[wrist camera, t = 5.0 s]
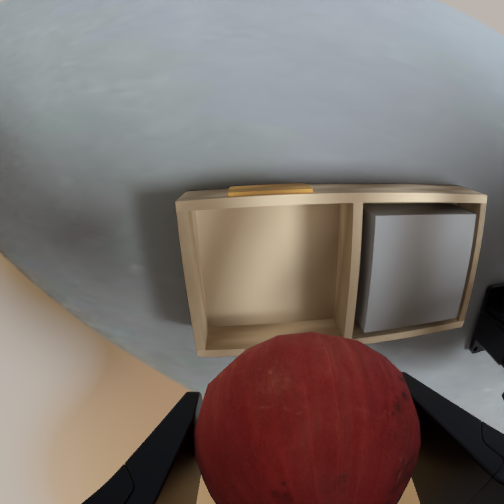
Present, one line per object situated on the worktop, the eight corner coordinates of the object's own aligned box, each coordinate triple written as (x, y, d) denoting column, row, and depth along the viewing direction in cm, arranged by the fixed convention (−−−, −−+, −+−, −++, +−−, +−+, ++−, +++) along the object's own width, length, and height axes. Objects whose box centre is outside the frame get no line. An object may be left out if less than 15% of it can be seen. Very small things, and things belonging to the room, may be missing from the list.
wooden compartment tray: (459, 183, 18) (490, 192, 14) (442, 306, 21) (464, 329, 18) (185, 187, 17) (173, 198, 14) (202, 329, 21) (197, 360, 17)
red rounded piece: (378, 272, 10) (531, 478, 2) (362, 397, 12) (421, 567, 4) (194, 290, 10) (124, 558, 2) (221, 414, 12) (211, 599, 4)
